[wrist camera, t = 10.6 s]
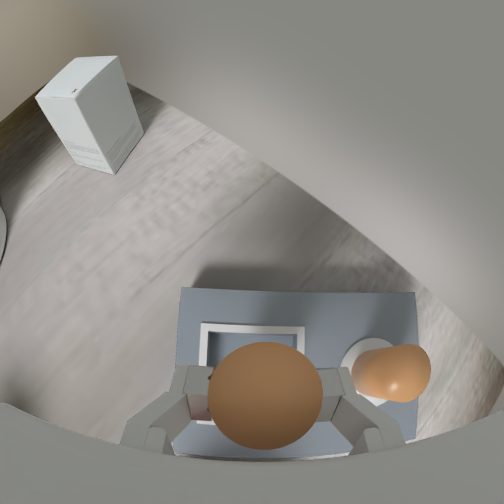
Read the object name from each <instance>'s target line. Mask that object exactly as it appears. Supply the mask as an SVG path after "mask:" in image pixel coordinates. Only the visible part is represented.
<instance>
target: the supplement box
mask: <svg viewBox="0 0 504 504" xmlns="http://www.w3.org/2000/svg"><path fill="white" fill-rule="evenodd" d="M35 98H36V100H37V102H38V104H39V106H40V107H41V109H42V111H43V112H44V114H45V116H46V117H47V119H48V121H49V122H50V124H51V125H52V127H53V128H54V130H55V132H56V133H57V135H58V136H59V138H60V139H61V141H62V142H63V144H64V145H65V147H66V148H67V150H68V152H69V153H70V155H71V156H72V158H73V159H74V161H75V162H76V164H78V165H82V166H85V167H89V168H92V169H96V170H99V171H103V172H106V173H109V174H113V175H115V173H116V172H117V171H118V169H119V168H120V166H121V165H122V163H123V162H124V161H125V159H126V158H127V156H128V155H129V154H130V152H131V151H132V149H133V148H134V147H135V145H136V144H137V143H138V141H139V140H140V139H141V137H142V136H143V134H144V131H143V128H142V126H141V123H140V120H139V117H138V114H137V111H136V109H135V106H134V103H133V100H132V97H131V94H130V91H129V88H128V85H127V82H126V79H125V77H124V73H123V70H122V67H121V64H120V61H119V57H118V56H97V57H78V58H75V59H74V60H73V61H71V62H70V63H69V64H68V65H67V66H66V67H65V68H63V70H61V71H60V72H59V73H58V74H57V75H56V76H55V77H54V78H53V79H52V80H51V81H50V82H49V83H48V84H47V85H46V86H45V87H44V88H43V89H42V90H41V91H40V92H39V93H38V94H37V95H36V96H35Z"/></svg>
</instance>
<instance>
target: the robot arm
mask: <svg viewBox="0 0 504 504" xmlns="http://www.w3.org/2000/svg"><path fill="white" fill-rule="evenodd" d="M5 240H6V218H5V214H4V212H3V210H2V208H1V207H0V260H1V257H2V254H3V250H4V245H5ZM316 370H317V372H318V374H319V376H320V379H321V382H322V388H323V402H322V407H321V411H320V413H319V416H318V418H317V420H316V421H315V422H326V421H331V423H332V424H333V425H334V426H335V427H336V428H337V430H338V431H339V432H340V433H341V434H342V435H343V436H344V437H345V438H346V439H347V440H348V441H349V442H350V443H351V444H352V446H353V449H352V450H351V452H350V453H349V455H348V456H342V457H334V458H325V459H315V460H302V461H281V462H242V461H221V460H209V459H198V458H189V457H182V456H175V454H174V451H173V449H172V446H171V442H172V441H173V440H174V439H175V438H176V437H177V436H178V435H179V434H180V433H181V432H182V431H183V430H184V429H185V427H186V426H187V425H188V424H189V423H190V422H191V420H198V421H212V417H211V415H210V412H209V408H208V402H207V393H208V386H209V382H210V379H211V377H212V374H213V372H214V367H209V366H199V365H188V364H179V363H178V364H177V366H176V369H175V372H174V376H173V380H172V383H171V387H170V391H169V392H165V393H163V394H162V395H161V396H160V397H158V398H157V399H156V400H154V401H153V402H152V403H151V404H149V405H148V406H147V407H145V408H144V409H143V410H141V411H140V412H139V413H137V414H136V415H135V416H133V417H132V418H131V419H129V420H128V421H127V424H126V427H125V430H124V433H123V435H122V438H121V441H120V444H115V443H111V442H107V441H103V440H100V439H96V438H93V437H90V436H87V435H83V434H80V433H77V432H74V431H71V430H68V429H66V428H63V427H60V426H57V425H55V424H52V423H50V422H47V421H45V420H42V419H40V418H37V417H35V416H33V415H31V414H28V413H26V412H24V411H22V410H20V409H18V408H16V407H14V406H12V405H9V404H7V403H1V404H0V504H504V410H500V411H498V412H496V413H494V414H491V415H489V416H487V417H485V418H482V419H480V420H477V421H475V422H473V423H470V424H467V425H465V426H462V427H460V428H457V429H454V430H451V431H448V432H445V433H442V434H439V435H436V436H433V437H430V438H426V439H423V440H419V441H416V442H412V443H408V444H406V443H405V440H404V437H403V435H402V432H401V429H400V427H399V424H398V422H397V421H395V420H394V419H393V418H391V417H390V416H389V415H387V414H386V413H385V412H383V411H382V410H381V409H379V408H378V407H377V406H375V405H374V404H373V403H372V402H370V401H369V400H368V399H366V398H365V397H364V396H362V395H361V394H357V392H356V389H355V386H354V383H353V380H352V377H351V374H350V371H349V368H348V367H336V368H335V367H332V368H316Z"/></svg>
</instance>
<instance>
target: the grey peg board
mask: <svg viewBox="0 0 504 504" xmlns="http://www.w3.org/2000/svg"><path fill="white" fill-rule="evenodd" d="M256 342H277V343H282V344H285V345H288V346H290V347H292V348H294V349H296V350H298V351H299V352H301V353H302V354H303V355H305V356H306V357H307V358H308V359H309V360H310V361H311V362H312V364H313V365H314V367H315V368H332V367H335V368H336V367H348V368H349V371H350V374H351V377H352V380H353V383H354V386H355V389H356V392H357V394H361V395H362V396H364V397H365V398H366V399H368V400H369V401H370V402H372V403H373V404H374V405H375V406H377V407H378V408H379V409H381V410H382V411H383V412H385V413H386V414H387V415H389V416H390V417H391V418H393V419H394V420H395V421H397V422H398V424H399V427H400V429H401V432H402V435H403V437H404V440H405V441H408V440H411V439H415V437H416V426H417V413H418V396H420V395H421V394H422V392H423V391H424V390H425V388H426V386H427V384H428V382H429V379H430V374H431V365H430V361H429V358H428V355H427V354H426V352H425V351H424V350H423V349H422V348H421V347H419V346H418V326H417V312H416V300H415V292H407V293H325V292H280V291H251V290H228V289H208V288H190V287H181V295H180V306H179V318H178V331H177V345H176V362H175V369H176V366H177V364H178V363H179V364H188V365H199V366H209V367H214V371H215V369H216V367H217V366H218V365H219V363H220V362H221V361H222V360H223V359H224V358H225V357H226V356H227V355H229V354H230V353H231V352H233V351H234V350H236V349H238V348H240V347H242V346H245V345H248V344H251V343H256ZM352 449H353V446H352V444H351V443H350V442H349V441H348V440H347V439H346V438H345V437H344V436H343V435H342V434H341V433H340V432H339V431H338V430H337V428H336V427H335V426H334V425H333V424H332V423H331V421H326V422H315V423H314V425H313V426H312V427H311V429H310V430H309V431H308V432H307V433H306V434H305V435H304V436H302V437H301V438H300V439H298V440H297V441H295V442H294V443H292V444H289V445H287V446H285V447H281V448H278V449H272V450H256V449H250V448H247V447H244V446H241V445H239V444H237V443H235V442H233V441H232V440H230V439H229V438H227V437H226V436H225V435H224V434H223V433H222V432H221V431H220V430H219V429H218V427H217V426H216V424H215V423H214V421H213V419H212V421H198V420H191V422H190V423H189V424H188V425H187V426H186V427H185V429H184V430H183V431H182V432H181V433H180V434H179V435H178V436H177V437H176V438H175V439H174V440H173V451H174V452H177V453H185V454H193V455H202V456H214V457H229V458H295V457H310V456H321V455H331V454H339V453H346V452H351V450H352Z"/></svg>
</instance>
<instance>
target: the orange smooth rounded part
mask: <svg viewBox="0 0 504 504" xmlns="http://www.w3.org/2000/svg"><path fill="white" fill-rule="evenodd" d="M207 402H208V408H209V412H210V415H211V417H212V419H213V421H214V423H215V424H216V426H217V427H218V429H219V430H220V431H221V432H222V433H223V434H224V435H225V436H226V437H227V438H229V439H230V440H232V441H233V442H235V443H237V444H239V445H241V446H244V447H247V448H250V449H256V450H272V449H278V448H281V447H285V446H287V445H289V444H292V443H294V442H295V441H297V440H298V439H300V438H301V437H302V436H304V435H305V434H306V433H307V432H308V431H309V430H310V429H311V427H312V426H313V425H314V423H315V421H316V420H317V418H318V416H319V413H320V411H321V407H322V402H323V388H322V382H321V379H320V376H319V374H318V372H317V370H316V368H315V367H314V365H313V364H312V362H311V361H310V360H309V359H308V358H307V357H306V356H305V355H303V354H302V353H301V352H299V351H298V350H296V349H294V348H292V347H290V346H288V345H285V344H282V343H277V342H256V343H251V344H248V345H245V346H242V347H240V348H238V349H236V350H234V351H233V352H231V353H230V354H229V355H227V356H226V357H225V358H224V359H223V360H222V361H221V362H220V363H219V365H218V366H217V367H216V369H215V371H214V372H213V374H212V377H211V379H210V382H209V386H208V393H207Z"/></svg>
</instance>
